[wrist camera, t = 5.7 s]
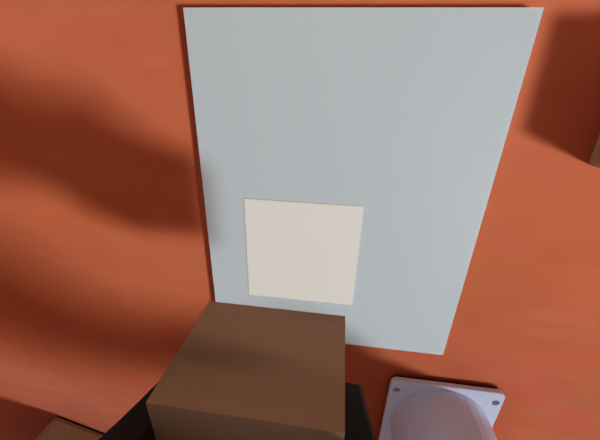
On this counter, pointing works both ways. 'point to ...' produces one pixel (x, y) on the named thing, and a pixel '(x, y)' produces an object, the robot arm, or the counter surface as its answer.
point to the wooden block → (66, 431)
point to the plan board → (353, 156)
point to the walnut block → (254, 377)
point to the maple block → (596, 154)
